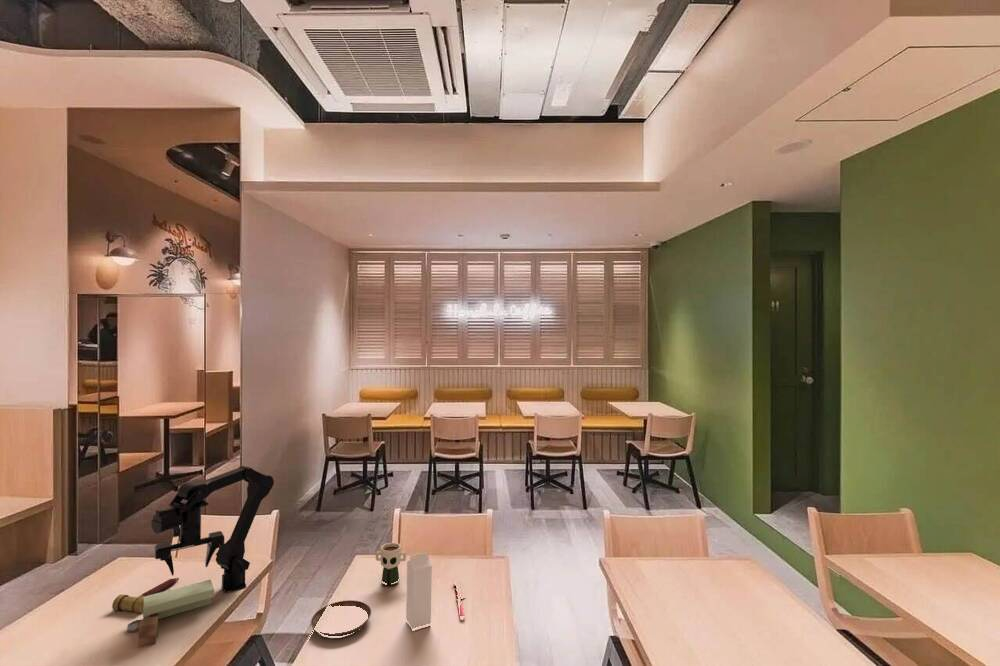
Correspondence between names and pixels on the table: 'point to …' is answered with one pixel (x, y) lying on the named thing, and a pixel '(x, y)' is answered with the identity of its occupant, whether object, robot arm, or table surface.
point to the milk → (419, 590)
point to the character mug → (390, 561)
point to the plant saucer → (342, 603)
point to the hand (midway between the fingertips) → (189, 570)
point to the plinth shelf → (178, 599)
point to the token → (133, 626)
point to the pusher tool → (148, 631)
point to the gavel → (139, 598)
